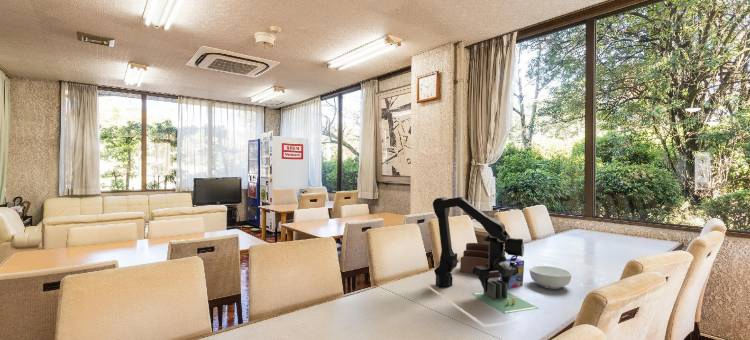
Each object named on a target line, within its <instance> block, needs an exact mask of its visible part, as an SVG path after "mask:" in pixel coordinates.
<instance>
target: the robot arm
mask: <svg viewBox="0 0 750 340" xmlns="http://www.w3.org/2000/svg"><path fill="white" fill-rule="evenodd" d="M432 207H433V211H434V214H435V216H436V218H437V222H438V223H437V224H438V233H439V239H440V240H439V241H440V248H441V253H440V257H439V266H437V267H436V268H435V269H434V274H435V286H436V287H437V288H440V289H441V288H442V289H448V288H451V287H452V286H453V279H454V278H453V273H452V272H453V270H455V268H457V267H458V263H459V260H458V253H457V252H456V253H454V251H453V247H452V240H451V239H452V238H451V230H450V222H449V220H450V219H449V216H450V212H451V208H456V207H458V208H459V209H461V210H462V211H463V212H464V213H466V214H467V215H469V216H470V217H471V218H473V219H474V220H475V221H477V223H478V224H480V225H481V226H482V227H483V229H484V230H485V232H486V233H488V235H487V236H486V237H485V238H484V239H483V241H484V242H488V244H489V254H487V257H489V263H488V264H486V266H487V267H488V268H485V267H483V266H475V267H474V268H473V274H472V275H475V276H476V277H477V278H478V280H479V283H480V284H481V287H482V288H483V292H484V291H485V292H487V288H488V279H491V277H488V276H489V273H494V272H500V273H501V276H502V281H504V282H506V283H507V285H508V283H509V281H510V279H511V277H513V276H515V275H516V274H518V271H519V269H518V267H517V264H516V263H515V262H511V263H510V262H506V259H507V257H506V255H505V256H504V249H505V254H507V255H509V256H518V257H520V258H521V257H524V256H525V255H524V254H525V245H524V239H523V238H513V237H511V235H509V234H508V231H506V227H505V224H504V223H503V222H501V221H499V219H496V218H494V217H491V216H489V215H487V214H485V213H484V212H483V211H482V210H480V209H479V208H478V207H476V206H475V205H474V204H472V203H471V202H469V201H468V200H467V199H466V198H465V197H464V196H459V197H458V196H457V197H452V198H447V197H444V196H443V197H438V198H436V199H434V200H433V202H432Z"/></svg>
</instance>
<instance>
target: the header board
mask: <svg viewBox="0 0 750 340" xmlns="http://www.w3.org/2000/svg"><path fill="white" fill-rule="evenodd" d="M471 295H472V296H474V297H475V298H477V299H479V300H481V301H483V302H484V303H486V304H487V305H489V306H491V307H492V308H494V309H496V310H497V311H499V312H501V313H502V314H511V313H518V312H523V311H530V310H537V309H538V310H539V309H540V308H539V307H538V306H535V305H533V304H531V303H530V302H528V301H526V300H524V299H522V298H520V297H518V296H515V295H514V294H511V293H510V292H508V291H507V298H504V297H502V296H501V299H499V298H497V297H496V300H493V299H491V298H490V297H488V296H486V295H484V291H483V292H474V293H471Z"/></svg>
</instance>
